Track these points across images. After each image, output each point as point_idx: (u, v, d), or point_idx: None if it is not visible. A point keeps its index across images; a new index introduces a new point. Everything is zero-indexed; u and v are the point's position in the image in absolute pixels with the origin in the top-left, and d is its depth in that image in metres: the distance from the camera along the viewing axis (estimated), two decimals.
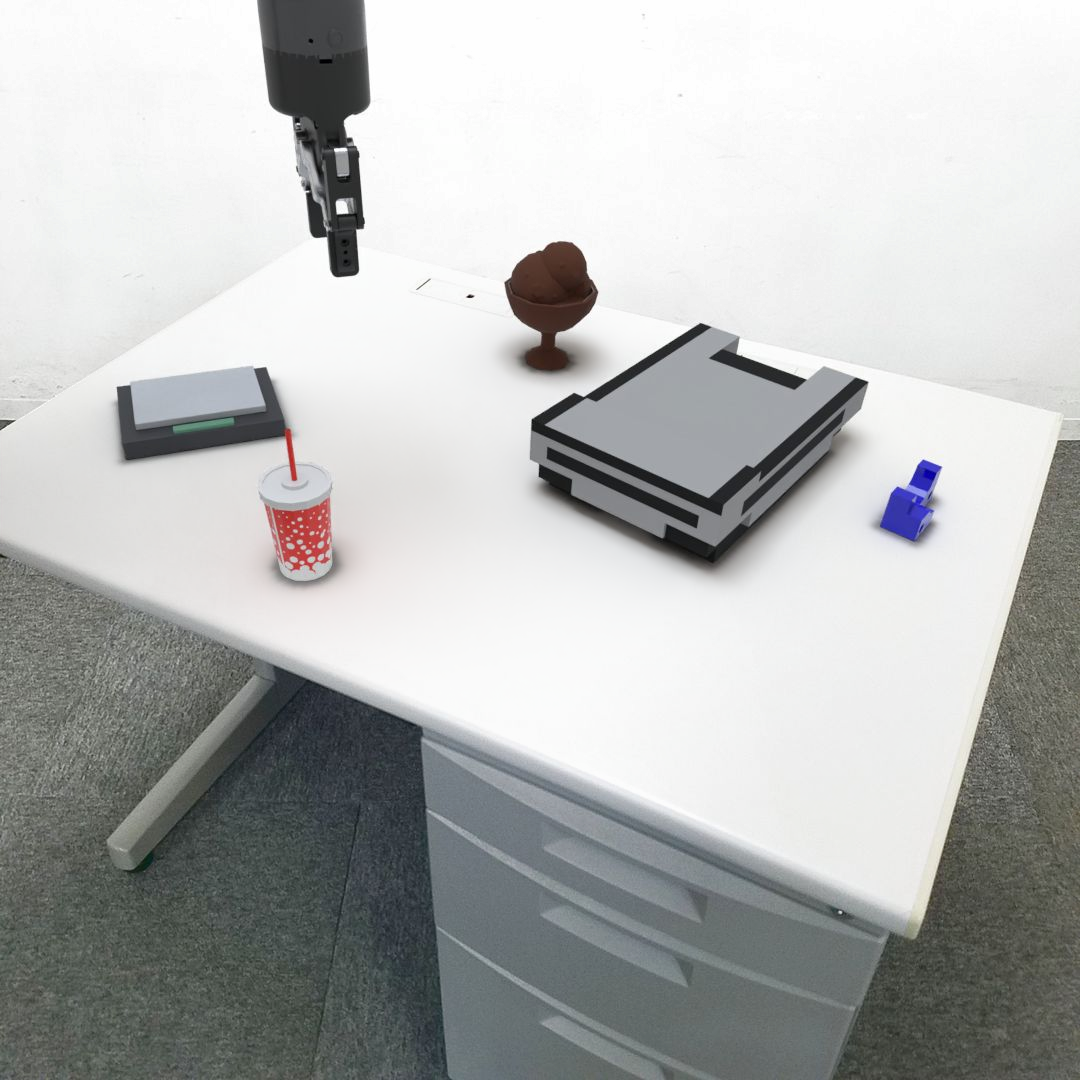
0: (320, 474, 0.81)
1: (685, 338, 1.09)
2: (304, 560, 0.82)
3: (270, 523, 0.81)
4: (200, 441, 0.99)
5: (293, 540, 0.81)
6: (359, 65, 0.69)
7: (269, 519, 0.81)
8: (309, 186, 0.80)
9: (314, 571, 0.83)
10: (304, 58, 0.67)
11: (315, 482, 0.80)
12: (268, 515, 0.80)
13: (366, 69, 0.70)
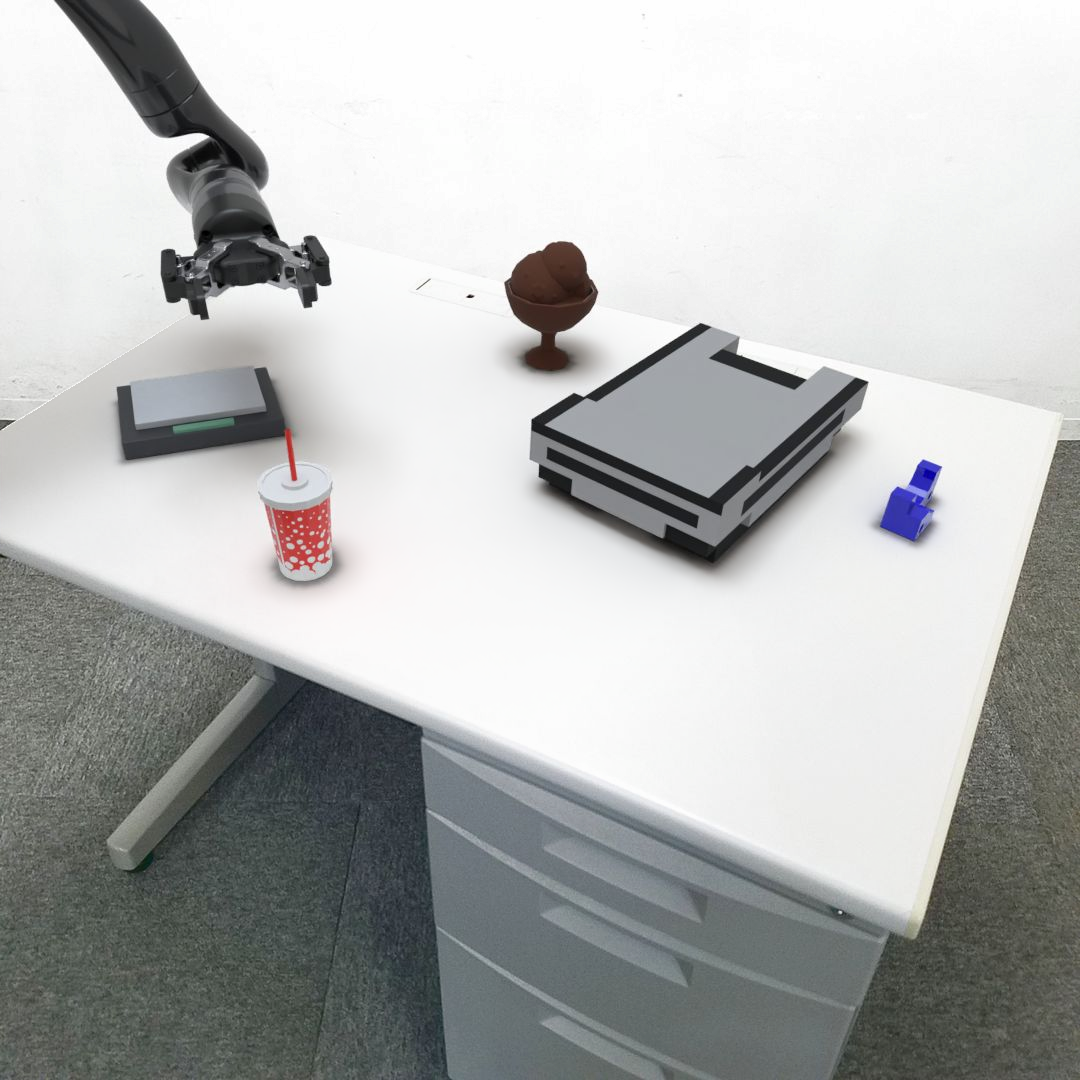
0: (320, 474, 0.81)
1: (685, 338, 1.09)
2: (304, 560, 0.82)
3: (270, 523, 0.81)
4: (200, 441, 0.99)
5: (293, 540, 0.81)
6: None
7: (269, 519, 0.81)
8: (199, 278, 0.82)
9: (314, 571, 0.83)
10: (270, 215, 0.92)
11: (315, 482, 0.80)
12: (268, 515, 0.80)
13: None
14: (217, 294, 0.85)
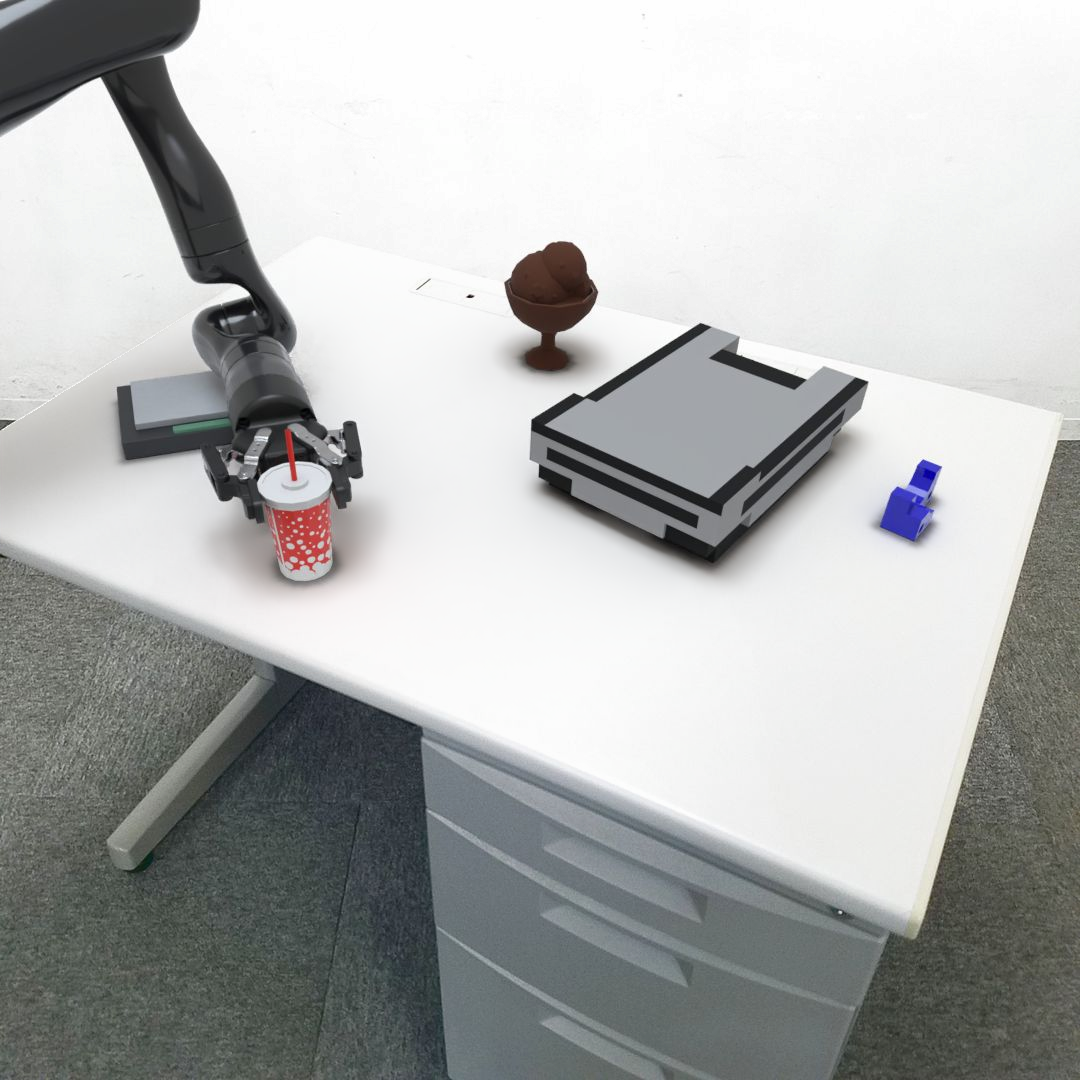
0: (320, 474, 0.81)
1: (685, 338, 1.09)
2: (304, 560, 0.82)
3: (270, 523, 0.81)
4: (200, 441, 0.99)
5: (293, 540, 0.81)
6: None
7: (269, 519, 0.81)
8: (253, 476, 0.81)
9: (314, 571, 0.83)
10: (305, 392, 0.91)
11: (315, 482, 0.80)
12: (268, 515, 0.80)
13: None
14: None
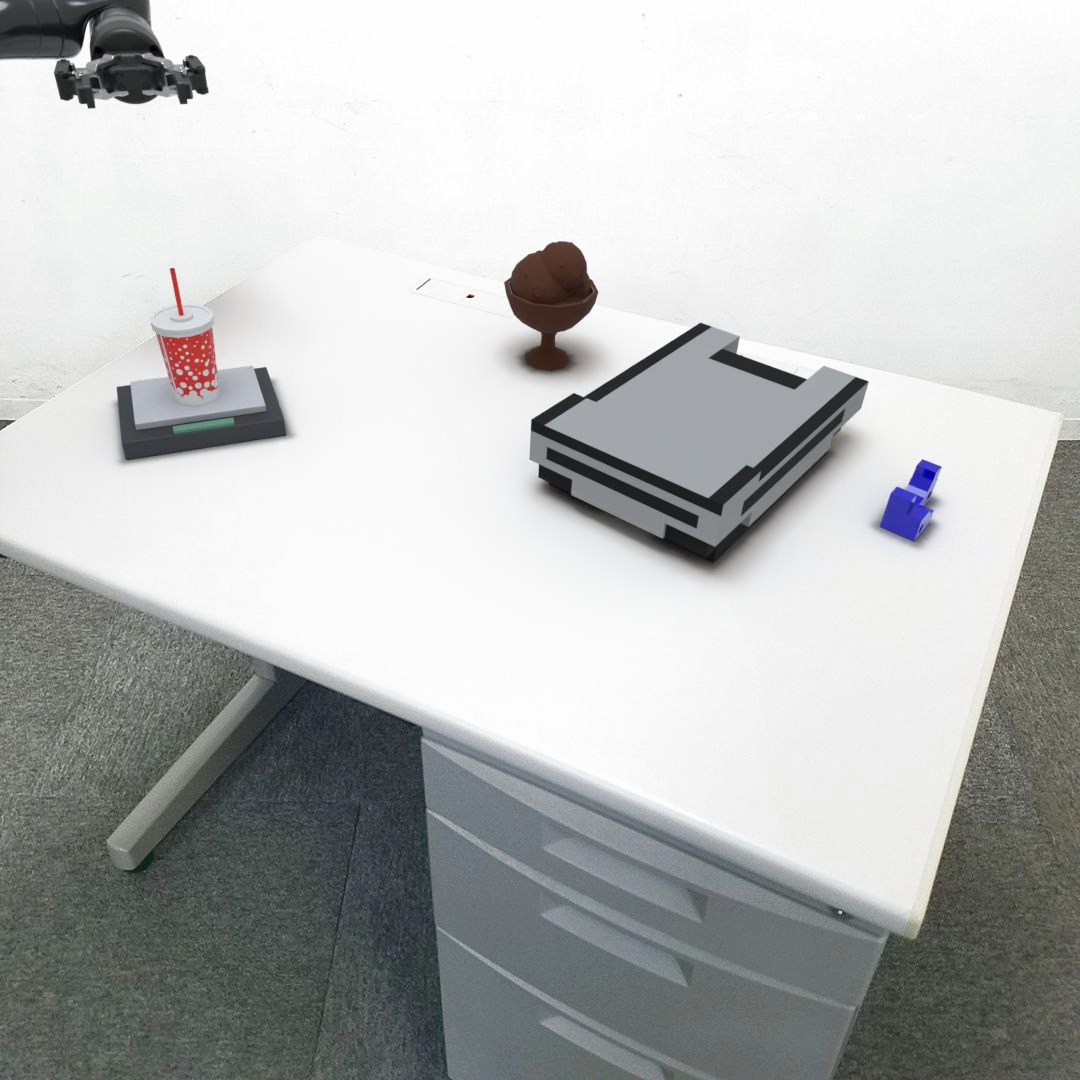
0: (204, 312, 0.98)
1: (685, 338, 1.09)
2: (192, 386, 0.99)
3: (162, 352, 0.98)
4: (200, 441, 0.99)
5: (181, 366, 0.97)
6: None
7: (161, 348, 0.97)
8: (88, 77, 0.95)
9: (202, 396, 1.00)
10: (158, 43, 1.05)
11: (199, 317, 0.97)
12: (160, 345, 0.97)
13: None
14: (106, 98, 0.98)
